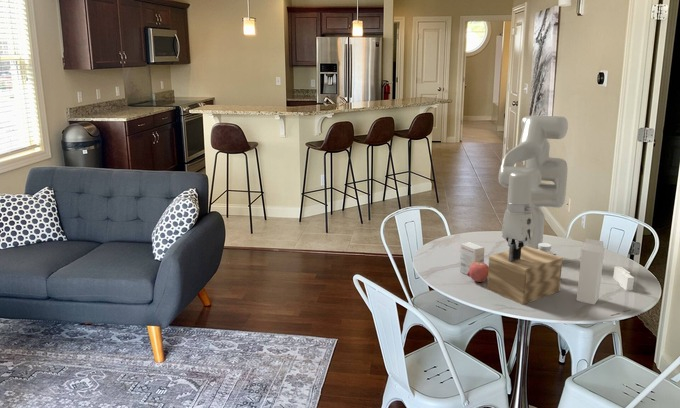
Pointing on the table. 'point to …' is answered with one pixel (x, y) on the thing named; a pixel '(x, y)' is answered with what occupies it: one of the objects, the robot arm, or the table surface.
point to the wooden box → (524, 281)
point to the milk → (590, 271)
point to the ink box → (470, 256)
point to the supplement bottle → (545, 247)
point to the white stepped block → (623, 278)
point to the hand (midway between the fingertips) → (514, 257)
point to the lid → (526, 258)
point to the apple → (478, 271)
